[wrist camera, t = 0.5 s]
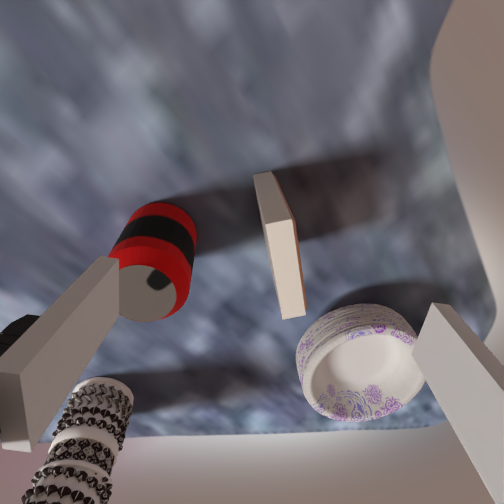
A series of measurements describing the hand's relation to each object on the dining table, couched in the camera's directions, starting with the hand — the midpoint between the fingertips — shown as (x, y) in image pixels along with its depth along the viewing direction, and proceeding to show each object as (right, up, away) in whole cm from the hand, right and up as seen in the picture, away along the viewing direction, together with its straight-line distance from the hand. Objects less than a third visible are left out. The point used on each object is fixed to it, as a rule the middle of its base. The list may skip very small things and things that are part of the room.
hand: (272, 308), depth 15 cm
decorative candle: (-22, -18, +37) cm, 46 cm away
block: (+1, +7, +25) cm, 26 cm away
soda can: (-11, +5, +25) cm, 28 cm away
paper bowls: (+12, -9, +34) cm, 37 cm away
